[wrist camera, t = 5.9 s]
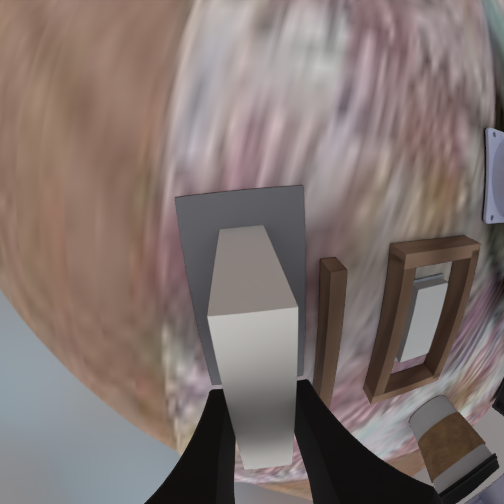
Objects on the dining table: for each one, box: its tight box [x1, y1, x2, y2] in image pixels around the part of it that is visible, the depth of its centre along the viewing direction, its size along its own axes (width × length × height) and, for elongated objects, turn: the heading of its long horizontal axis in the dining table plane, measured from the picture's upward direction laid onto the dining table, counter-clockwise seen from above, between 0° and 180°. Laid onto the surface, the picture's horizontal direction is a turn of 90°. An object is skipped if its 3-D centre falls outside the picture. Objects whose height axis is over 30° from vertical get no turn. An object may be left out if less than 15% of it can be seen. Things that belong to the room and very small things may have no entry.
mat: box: [175, 185, 306, 385], centre depth 17 cm, size 7×14×1 cm, turn 5°
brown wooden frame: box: [313, 235, 481, 409], centre depth 18 cm, size 13×14×2 cm
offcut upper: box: [396, 277, 448, 362], centre depth 18 cm, size 3×7×1 cm, turn 5°
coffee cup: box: [409, 395, 499, 504], centre depth 18 cm, size 8×8×15 cm
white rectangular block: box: [207, 225, 298, 469], centre depth 13 cm, size 2×10×8 cm, turn 5°
